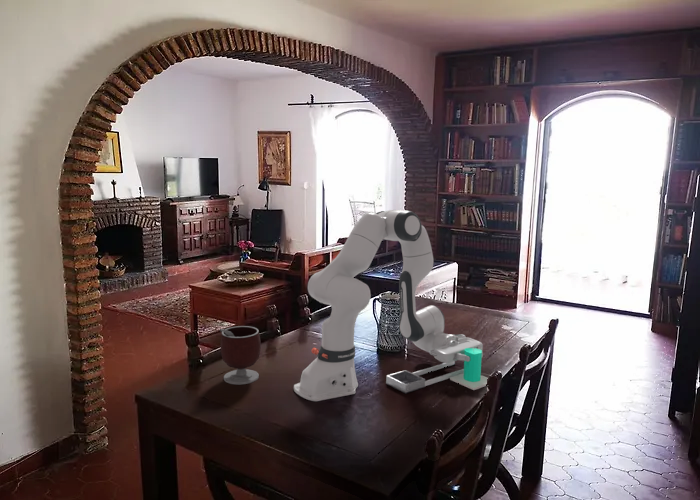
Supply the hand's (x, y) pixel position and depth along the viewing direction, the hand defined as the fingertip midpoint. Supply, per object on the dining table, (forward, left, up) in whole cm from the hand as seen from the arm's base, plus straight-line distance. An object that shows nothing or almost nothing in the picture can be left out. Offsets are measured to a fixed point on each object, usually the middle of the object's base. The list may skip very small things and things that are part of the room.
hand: (475, 357), depth 192 cm
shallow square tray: (-22, +12, -9) cm, 27 cm away
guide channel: (-5, +12, -9) cm, 16 cm away
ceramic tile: (0, +1, -9) cm, 9 cm away
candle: (0, +1, -9) cm, 9 cm away
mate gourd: (-66, +51, -9) cm, 84 cm away
